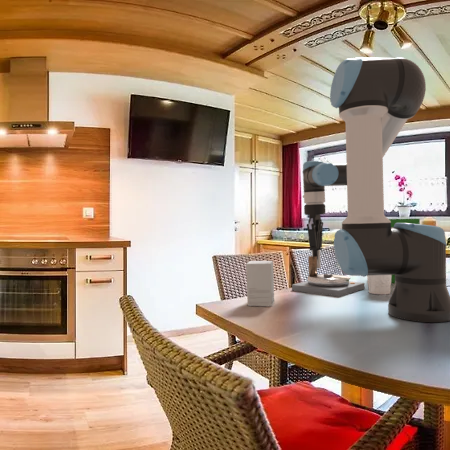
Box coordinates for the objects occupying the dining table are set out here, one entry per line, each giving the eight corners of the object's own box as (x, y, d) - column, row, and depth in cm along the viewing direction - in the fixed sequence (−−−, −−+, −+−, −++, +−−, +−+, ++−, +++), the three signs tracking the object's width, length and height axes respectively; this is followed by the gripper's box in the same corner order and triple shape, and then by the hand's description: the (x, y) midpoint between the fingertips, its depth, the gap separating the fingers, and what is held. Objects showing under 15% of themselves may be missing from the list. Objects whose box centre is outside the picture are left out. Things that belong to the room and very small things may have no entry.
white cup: (388, 290, 132) (387, 261, 132) (395, 295, 124) (395, 263, 124) (364, 290, 133) (363, 261, 133) (370, 295, 125) (369, 264, 125)
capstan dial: (358, 282, 136) (358, 256, 136) (340, 288, 126) (339, 260, 126) (319, 278, 147) (318, 254, 146) (298, 283, 136) (298, 258, 136)
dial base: (339, 296, 124) (338, 289, 124) (292, 290, 136) (291, 283, 136) (364, 288, 136) (364, 282, 136) (319, 283, 149) (319, 277, 149)
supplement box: (274, 301, 119) (274, 260, 119) (271, 307, 112) (270, 263, 112) (251, 300, 121) (250, 260, 121) (246, 306, 114) (245, 263, 114)
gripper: (309, 204, 150) (311, 264, 151) (298, 204, 139) (301, 270, 140) (329, 203, 146) (331, 265, 147) (319, 203, 135) (321, 271, 136)
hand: (316, 267), depth 143 cm, fingers closed
